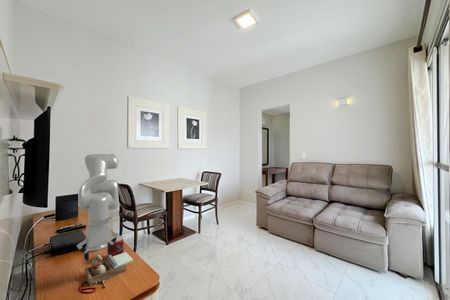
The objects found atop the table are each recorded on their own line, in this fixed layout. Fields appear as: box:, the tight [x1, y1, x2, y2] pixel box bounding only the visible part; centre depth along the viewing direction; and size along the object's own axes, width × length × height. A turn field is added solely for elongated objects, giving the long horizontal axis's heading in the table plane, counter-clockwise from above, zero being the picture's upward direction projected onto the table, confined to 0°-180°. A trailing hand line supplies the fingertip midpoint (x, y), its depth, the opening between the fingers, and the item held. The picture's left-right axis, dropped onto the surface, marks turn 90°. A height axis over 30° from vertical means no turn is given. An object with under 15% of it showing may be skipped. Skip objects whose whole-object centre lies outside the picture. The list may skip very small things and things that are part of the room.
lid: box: [107, 251, 134, 268], centre depth 98 cm, size 11×9×2 cm
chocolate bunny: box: [91, 254, 107, 276], centre depth 92 cm, size 6×8×10 cm
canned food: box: [107, 235, 124, 257], centre depth 108 cm, size 8×8×11 cm
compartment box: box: [84, 259, 127, 287], centre depth 93 cm, size 12×15×3 cm
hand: (99, 255), depth 92 cm, fingers open, 9 cm apart
